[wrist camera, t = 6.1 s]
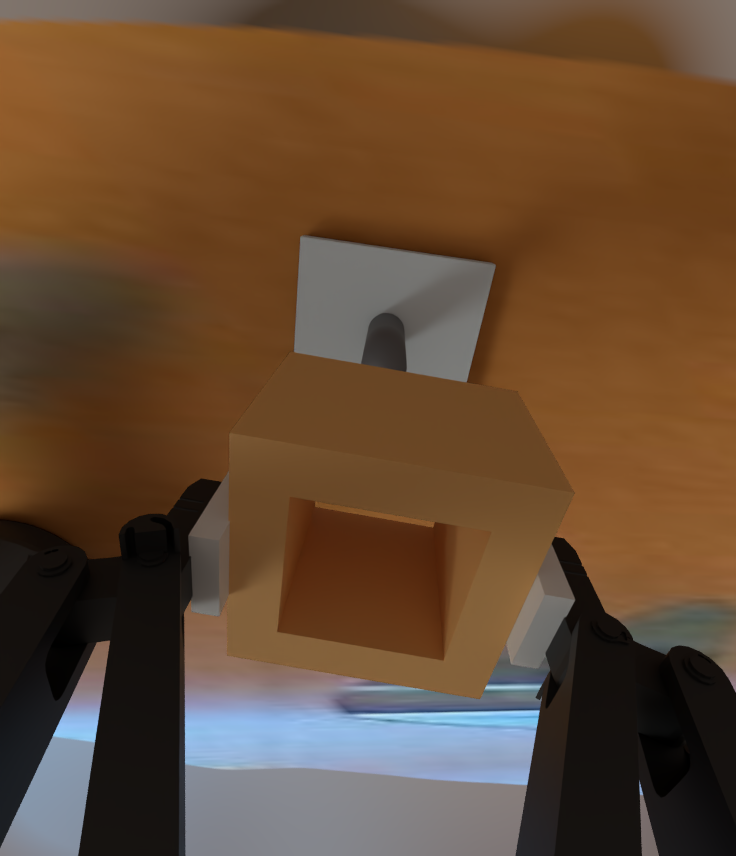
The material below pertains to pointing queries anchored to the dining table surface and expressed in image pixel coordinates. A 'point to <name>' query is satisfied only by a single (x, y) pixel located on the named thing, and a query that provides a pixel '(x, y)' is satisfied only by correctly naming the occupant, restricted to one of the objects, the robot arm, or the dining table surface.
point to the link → (385, 523)
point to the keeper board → (390, 307)
